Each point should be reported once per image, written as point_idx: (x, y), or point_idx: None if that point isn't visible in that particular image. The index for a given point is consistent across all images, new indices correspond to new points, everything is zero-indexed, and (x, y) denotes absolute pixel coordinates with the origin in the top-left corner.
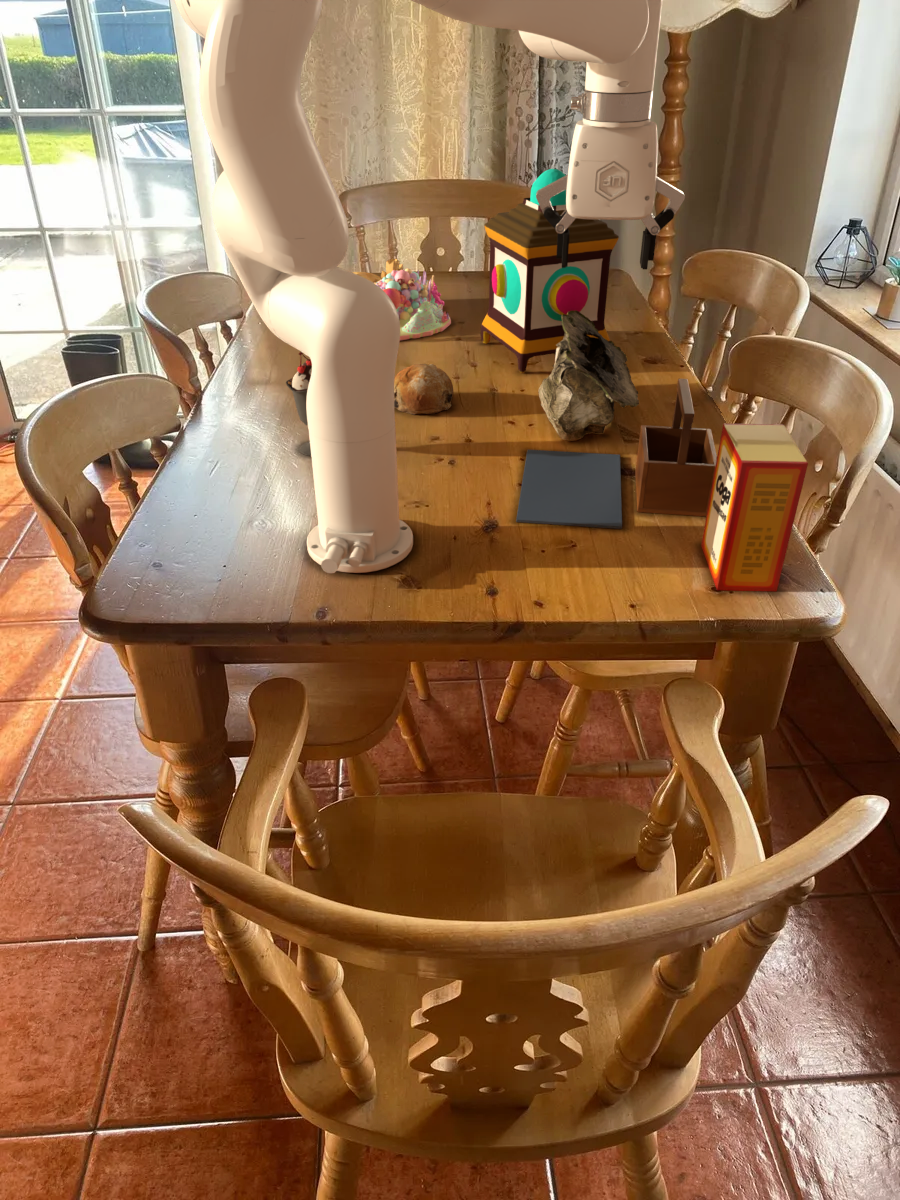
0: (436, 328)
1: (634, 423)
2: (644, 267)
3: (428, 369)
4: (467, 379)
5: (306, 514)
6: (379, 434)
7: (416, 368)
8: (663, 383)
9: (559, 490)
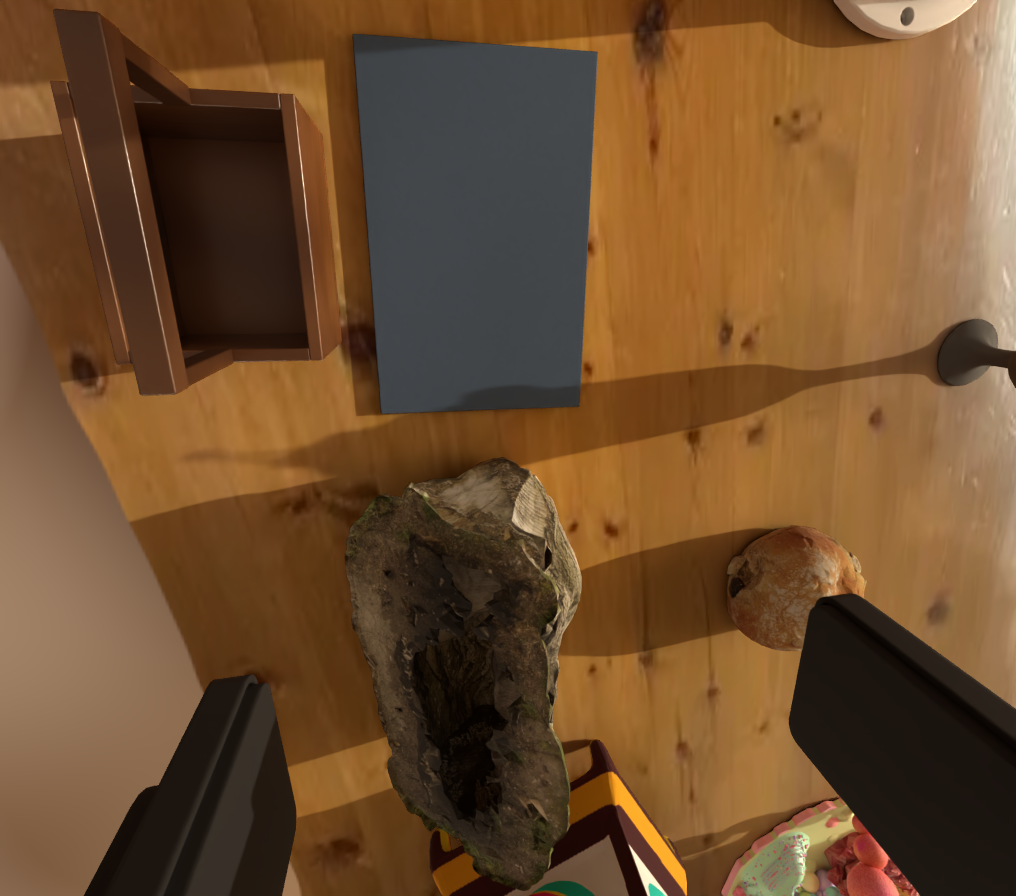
0: (749, 861)
1: None
2: (234, 679)
3: None
4: (693, 691)
5: (1002, 57)
6: None
7: None
8: (310, 764)
9: (506, 213)
